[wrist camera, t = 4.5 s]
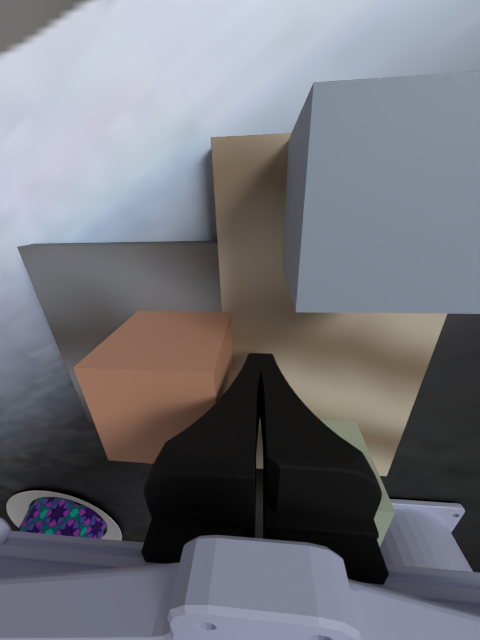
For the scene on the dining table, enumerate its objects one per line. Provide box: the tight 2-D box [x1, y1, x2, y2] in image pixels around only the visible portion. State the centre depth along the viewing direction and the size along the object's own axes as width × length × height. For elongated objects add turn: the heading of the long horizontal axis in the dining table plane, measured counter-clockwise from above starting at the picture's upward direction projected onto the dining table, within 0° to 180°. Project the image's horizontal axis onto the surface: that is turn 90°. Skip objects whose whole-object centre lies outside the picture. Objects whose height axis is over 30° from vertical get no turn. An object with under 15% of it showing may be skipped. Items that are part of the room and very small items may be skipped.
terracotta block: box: [73, 311, 233, 464], centre depth 12 cm, size 5×5×5 cm
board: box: [17, 133, 447, 476], centre depth 14 cm, size 20×21×1 cm
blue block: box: [282, 71, 480, 314], centre depth 8 cm, size 5×5×5 cm
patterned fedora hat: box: [6, 490, 122, 541], centre depth 24 cm, size 12×12×5 cm
